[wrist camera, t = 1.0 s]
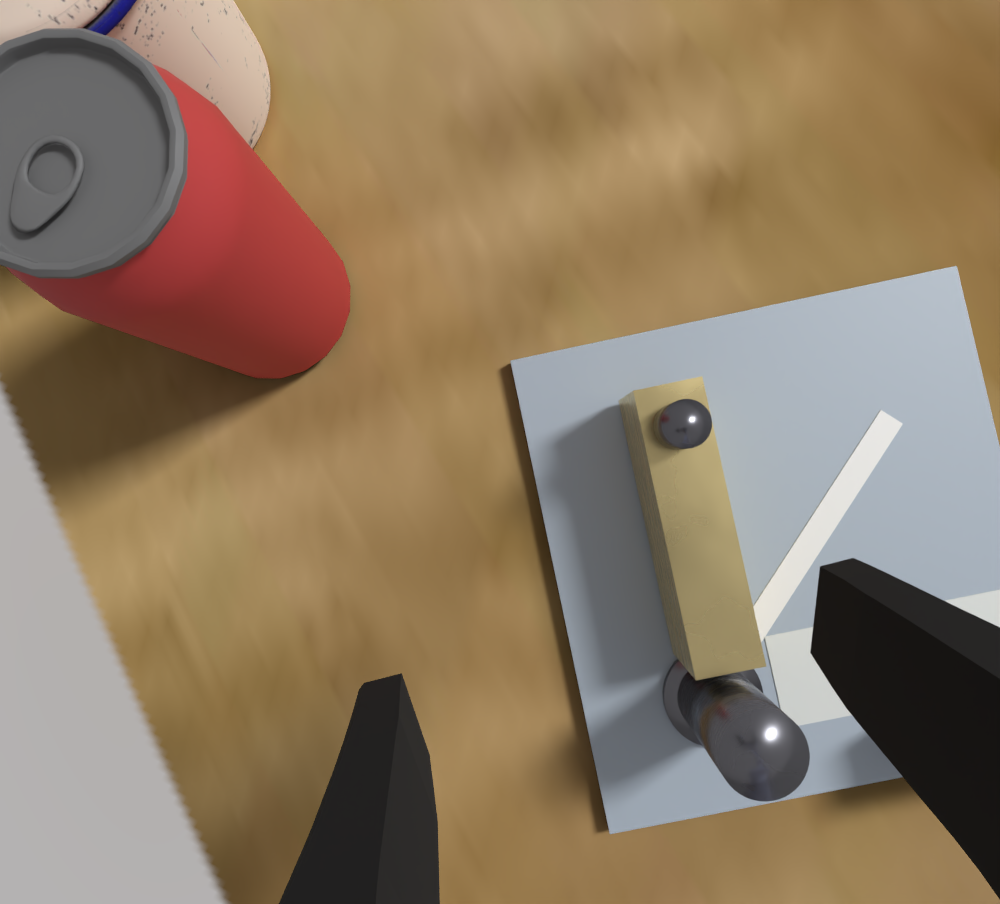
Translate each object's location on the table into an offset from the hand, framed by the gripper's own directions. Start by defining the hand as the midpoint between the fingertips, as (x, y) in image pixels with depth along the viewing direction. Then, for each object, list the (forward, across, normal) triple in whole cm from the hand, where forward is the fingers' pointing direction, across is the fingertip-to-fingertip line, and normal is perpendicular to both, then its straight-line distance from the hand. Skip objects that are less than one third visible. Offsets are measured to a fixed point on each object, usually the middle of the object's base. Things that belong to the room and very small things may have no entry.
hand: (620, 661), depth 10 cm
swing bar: (+11, -6, +6) cm, 14 cm away
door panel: (+11, -10, +8) cm, 17 cm away
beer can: (+20, +8, -3) cm, 21 cm away
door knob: (+8, -6, +13) cm, 16 cm away
